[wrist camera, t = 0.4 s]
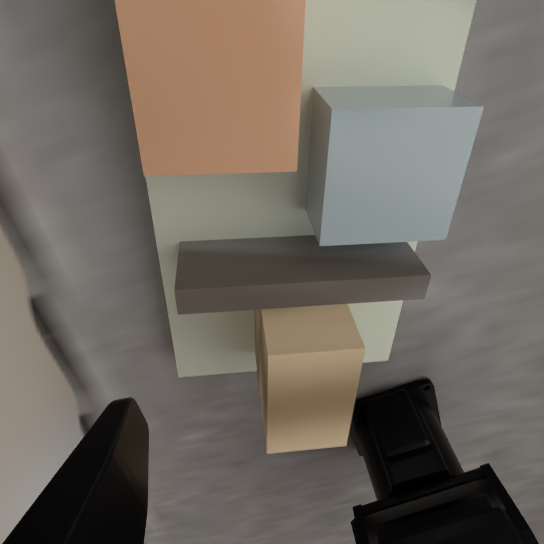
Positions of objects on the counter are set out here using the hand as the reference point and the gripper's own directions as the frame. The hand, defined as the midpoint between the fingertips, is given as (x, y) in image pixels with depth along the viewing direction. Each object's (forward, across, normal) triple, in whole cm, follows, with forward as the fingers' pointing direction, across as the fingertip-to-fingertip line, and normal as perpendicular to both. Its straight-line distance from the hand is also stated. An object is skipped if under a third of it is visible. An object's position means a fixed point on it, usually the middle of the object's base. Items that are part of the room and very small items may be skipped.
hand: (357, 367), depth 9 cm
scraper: (+11, +1, +7) cm, 13 cm away
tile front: (+11, +2, -4) cm, 12 cm away
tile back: (+11, -4, 0) cm, 11 cm away
